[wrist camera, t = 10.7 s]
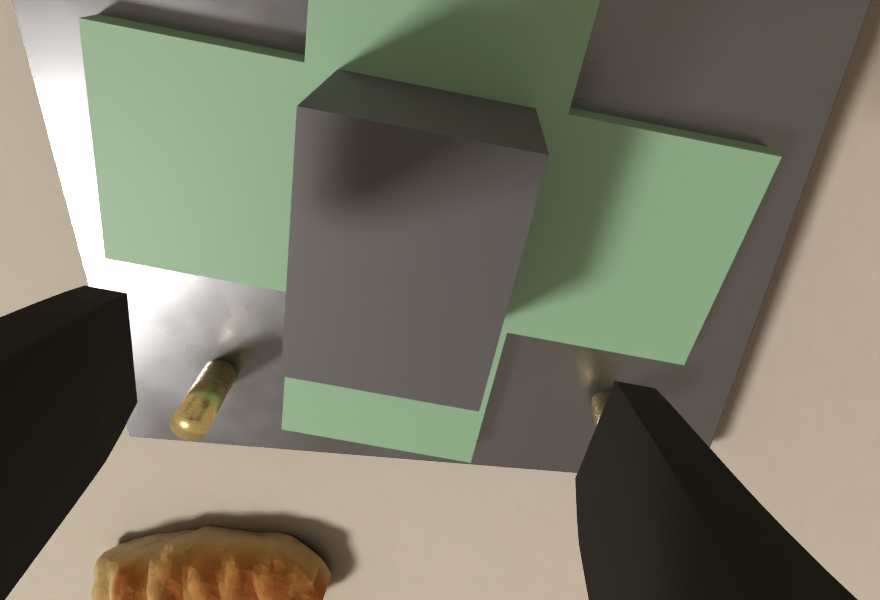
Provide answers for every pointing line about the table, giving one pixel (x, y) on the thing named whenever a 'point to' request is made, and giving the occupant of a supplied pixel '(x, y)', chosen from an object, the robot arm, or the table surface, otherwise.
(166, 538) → the pastry
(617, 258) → the board
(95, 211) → the chassis
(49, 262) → the table surface
